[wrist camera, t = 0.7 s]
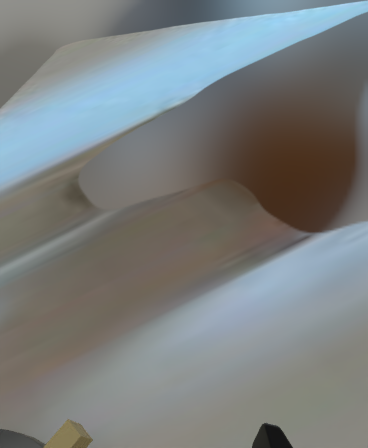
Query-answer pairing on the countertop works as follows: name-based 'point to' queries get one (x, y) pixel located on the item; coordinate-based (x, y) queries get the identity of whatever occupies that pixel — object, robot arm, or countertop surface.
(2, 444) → the tribrach plate
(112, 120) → the countertop surface
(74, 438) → the knob
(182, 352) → the countertop surface
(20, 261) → the countertop surface
